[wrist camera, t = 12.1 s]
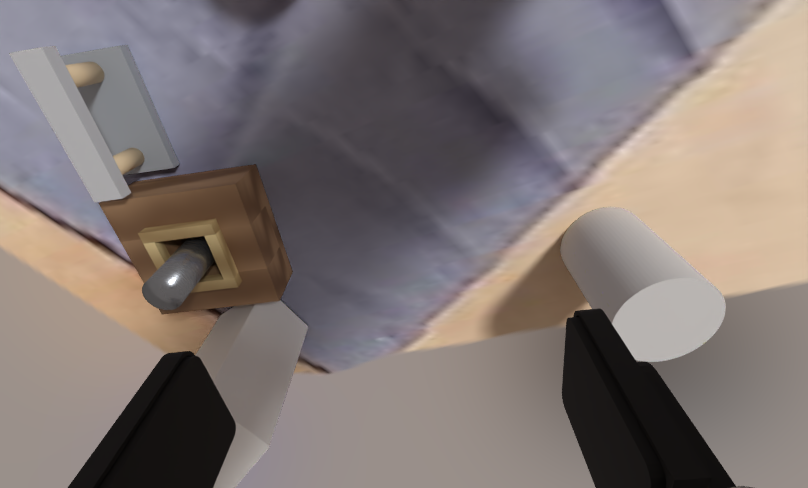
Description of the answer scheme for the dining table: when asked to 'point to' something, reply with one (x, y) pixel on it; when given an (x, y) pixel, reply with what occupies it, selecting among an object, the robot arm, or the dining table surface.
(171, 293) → the pin
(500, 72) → the dining table surface
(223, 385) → the milk carton
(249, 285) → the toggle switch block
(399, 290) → the dining table surface
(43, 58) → the peg rack
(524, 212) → the dining table surface
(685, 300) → the light grey cylinder
